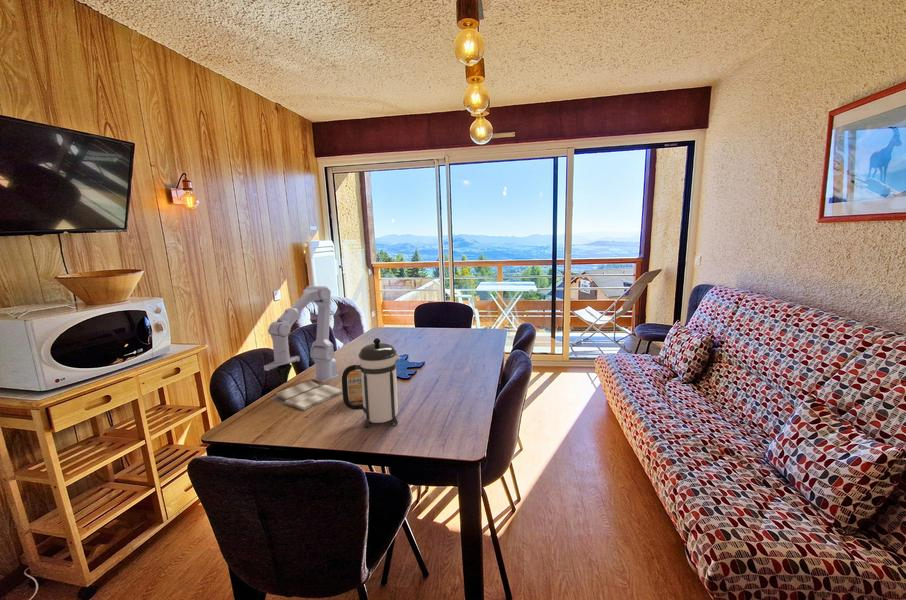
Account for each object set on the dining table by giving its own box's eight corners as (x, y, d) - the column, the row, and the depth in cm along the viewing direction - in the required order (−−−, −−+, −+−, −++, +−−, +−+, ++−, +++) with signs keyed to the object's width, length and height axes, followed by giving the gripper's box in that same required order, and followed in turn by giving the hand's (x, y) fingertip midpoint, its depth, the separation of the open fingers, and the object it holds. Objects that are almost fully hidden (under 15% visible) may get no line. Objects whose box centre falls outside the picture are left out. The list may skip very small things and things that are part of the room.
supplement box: (348, 402, 145) (346, 371, 143) (348, 397, 149) (346, 367, 147) (369, 399, 147) (367, 368, 145) (369, 395, 151) (367, 365, 149)
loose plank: (309, 382, 163) (309, 380, 163) (319, 387, 160) (319, 385, 160) (276, 395, 150) (276, 392, 150) (286, 401, 146) (286, 398, 146)
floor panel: (312, 383, 166) (312, 380, 166) (345, 393, 154) (345, 389, 154) (270, 399, 149) (270, 396, 149) (303, 412, 137) (303, 408, 137)
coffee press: (382, 406, 141) (377, 330, 136) (411, 417, 131) (407, 336, 126) (343, 423, 128) (337, 340, 123) (372, 438, 117) (366, 348, 113)
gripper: (291, 344, 157) (294, 375, 159) (258, 353, 145) (262, 386, 147) (301, 347, 153) (304, 377, 155) (268, 356, 141) (272, 389, 143)
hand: (284, 382), depth 151 cm, fingers closed
